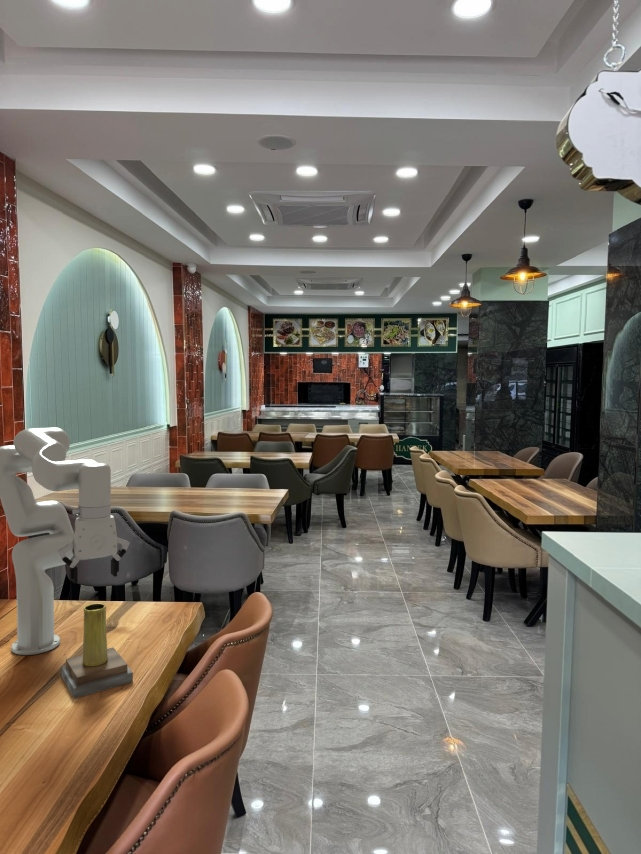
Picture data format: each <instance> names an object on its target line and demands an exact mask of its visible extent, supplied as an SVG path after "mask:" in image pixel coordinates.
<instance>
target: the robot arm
mask: <svg viewBox="0 0 641 854" xmlns="http://www.w3.org/2000/svg"><path fill="white" fill-rule="evenodd" d="M70 445H71V442H70V437H69V435H68V433H67V432H66V431H65V430H64V429H62V428H59V427H32V428H30V427H29V428H25V429H23V430H21V431H19V432H18V433H17V434H16V435H15V436H14V439H13V444H9V445H1V446H0V502H1V505H2V508H3V511H4V516H5V518H6V523H7V525H8V528H9V530H10V532H11V533H12V535H14V536H15V537H20V538H21V537H30V536H35V537H30V538H26V539H23V540H20V542H17V543H16V544H15V545H14V546H13V548H12V552H11V560H12V564H13V568H14V575H15V582H16V583H15V585H16V586H15V587H16V625H17V626H16V627H17V628H16V629H17V630H16V631H17V633H16V635H17V636H16V637H17V640H16V641H14V642H13V643H12V644H11V647H10V650H11V652H12V653H14V654H16V655H19V656H32V655H37V654H38V655H39V654H42V653H46V652H49V651H50V650H53V649H55V648H56V647H58V646H59V645H60V643H61V638H60V636H59V635H57V634H55V611H54V610H55V605H54V604H55V603H54V602H55V601H54V600H55V599H54V595H55V593H54V591H55V589H54V583H53V582H54V581H53V580H52V578H51V577H50V576H49V575H48V574H47V573H46V572H45V571H46V570H48V569H51V568H55V567H60V566H63V565H67V566H69V567H68V568H69V569H68V570H69V573H68V575H69V580H71V581H72V582H73V584H77V583H78V577H79V576H78V575H79V574H78V571H79V569H78V567H77V564H78V563H79V562H80V561H87V560H94V559H99V558H107V557H112V558H111V559H110V575H111V576H113V577H114V578H115V577H118V572H120V561H121V559H122V558H123V557H124V555H125V554H126V553H127V550H128V548H129V546H130V544H131V543H130V541H128V540H126V539H123V538H120V537H118V535H117V534H118V533H117V525H116V521H115V520H116V519H115V517H114V515H112V514H111V509H112V508H111V505H112V504H111V502H112V501H111V494H112V493H111V491H112V490H111V489H112V488H111V484H112V479H111V478H112V477H111V475H112V473H111V471H112V470H111V466H110V465H109V464H108V463H105V462H98V461H96V460H95V459H90V458H86V459H73V460H72V459H71V460H66V459H67V453H68V452H69V449H70ZM21 473H23V474H24V473H32V476H33V478H34V480H35V481H36V482H37V483H38V484H39V485H40V486H42V487H43V488H44V489H46V490H48V491H52V492H63V491H71V490H78V505H77V507H76V508H75V509H74V508H73V509H72V515H73V516H75V515H76V516H78V517H76V518H75V521H74V526H72V523H71V520H70V517H69V514H68V512H67V510H66V507H65V506H64V505H63V504H62V503H61V502H60V501H58V500H54V499H53V500H52V499H50V500H41V501H37V500H36V498H35V496H34V493H33V490H32V488H31V486H30V485H29V484H28V483H27V482H26V481H25V480H24V479H22V478H21V477H19V476H17V475H16V474H21ZM46 533H47V534H46ZM48 533H49V534H48ZM41 534H46V535H41ZM36 535H40V536H36ZM118 544H120V545H121V547H120V548H119V549H118Z"/></svg>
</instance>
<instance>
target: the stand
mask: <svg viewBox="0 0 641 854" xmlns="http://www.w3.org/2000/svg"><path fill="white" fill-rule="evenodd" d="M107 656H108V660H107V661H106V662H105V663H104V664H102V665H99V666H94V667H89V666H85V665H83V663H82V661H83V654H81V655H77V656H72V657H69V658H66V659H65V664H64V665H61V666H60V677H61V678H62V680H63V682H64V681H65V682H64V683H65V685H66V687H67V689H68V691H69V692H70V695H71V696H72V697H73V699H75V700H76V699H78V698H81V697H85V696H89V695H93V694H96V693H99V692H103V691H106V690H111V689H113V688H117V687H120V686H123V685H128V684H131V683H133V682H134V673H133V671H132V670H131V668H130V667H129V666H128V663H127V662H126V661H125V659H124V658H123V657H122V656H121V655H120V654H119V652H118V651H117V650H116V648H114V647H109V648H107ZM127 683H128V684H127Z"/></svg>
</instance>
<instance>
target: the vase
mask: <svg viewBox="0 0 641 854" xmlns="http://www.w3.org/2000/svg"><path fill="white" fill-rule="evenodd" d="M82 637H83V640H82V647H83V648H82V655H83V661H82V663H83V665H85V666H89V667H94V666H99V665H102V664H104V663H105V662H106V661H107V660H108V656H107V649H108V640H107V637H108V636H107V606H106V604H104V603H102V602H101V603H100V602H97V603H96V602H94V603H90V604H87V605H85V606H84V607H83V636H82Z"/></svg>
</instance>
